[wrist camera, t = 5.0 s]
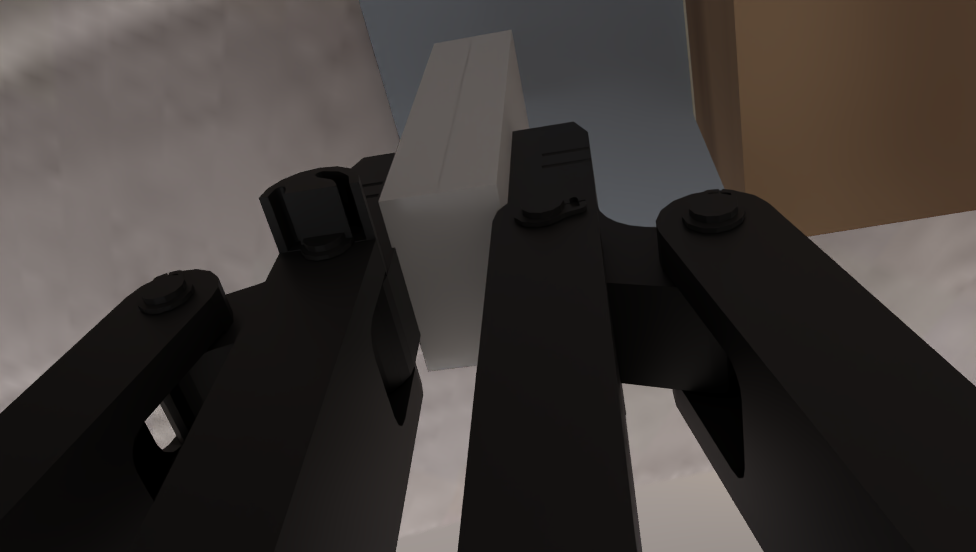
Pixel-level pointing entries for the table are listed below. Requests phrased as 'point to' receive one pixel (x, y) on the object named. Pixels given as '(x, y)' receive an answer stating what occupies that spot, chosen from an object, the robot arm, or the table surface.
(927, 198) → the walnut cube
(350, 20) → the table surface
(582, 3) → the mat
